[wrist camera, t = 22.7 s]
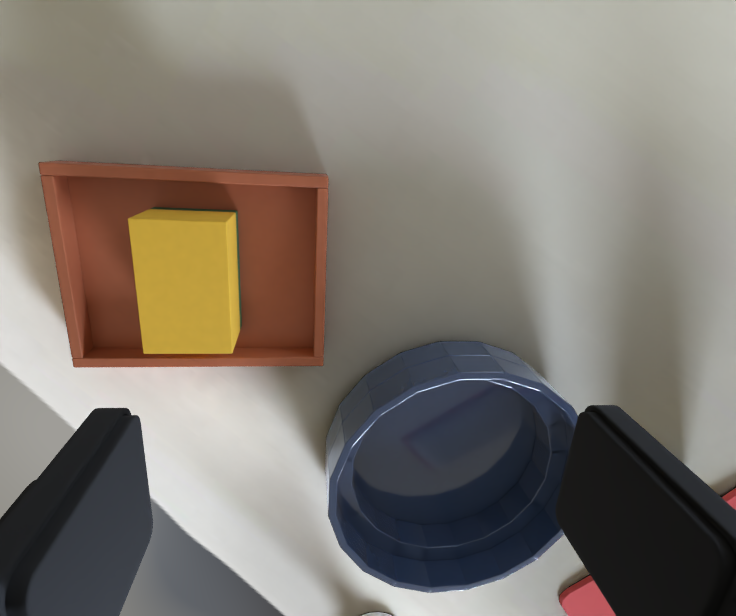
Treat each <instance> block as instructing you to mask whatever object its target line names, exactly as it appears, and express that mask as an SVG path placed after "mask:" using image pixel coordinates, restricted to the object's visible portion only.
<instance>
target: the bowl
mask: <svg viewBox="0 0 736 616" xmlns="http://www.w3.org/2000/svg"><path fill="white" fill-rule="evenodd" d="M577 419H578V415H577V414H576V412H575V410H574V408H573V407H572V406H571V405H570V404H569V403H568V402H567V401H566V400H565V399H564V398H563V397H562V396H561V395H560V394H559V393H558V392H557V391H556V390H555V389H554V388H553V387H552V386H551V385H550V384H549V383H548V382H547V381H546V380H545V379H544V378H543V377H542V376H541V375H540V374H539V373H538V372H537V371H536V370H535V369H533V368H532V367H531V366H530V365H528V364H527V363H526V362H525V361H523V360H522V359H521V358H519V357H518V356H517V355H516V354H514V353H513V352H510V351H507V350H504V349H501V348H497V347H494V346H491V345H488V344H485V343H482V342H478V341H440V342H435V343H432V344H428V345H425V346H421V347H418V348H415V349H411V350H408V351H404V352H401V353H400V354H397V355H396V356H394V357H393V358H391V359H389V360H388V361H386V362H385V363H383V364H382V365H380V366H378V367H377V368H375V369H374V370H372V371H371V372H369V373H367V374H366V375H365V376H364V377H363V378H362V379H361V380H360V381H359V383H358V384H357V385H356V386H355V387H354V388H353V390H352V391H351V392H350V393H349V394H348V395H347V397H346V398H345V399H344V400H343V401H342V402H341V403H340V405H339V408H338V410H337V412H336V415H335V417H334V420H333V422H332V425H331V427H330V429H329V432H328V434H327V438H326V465H325V471H326V488H327V505H328V517H329V519H330V522H331V525H332V527H333V530H334V532H335V535H336V538H337V540H338V543H339V545H340V547H341V548H342V549H343V551H344V552H345V553H346V554H347V555H348V556H349V557H350V558H351V559H352V560H353V561H354V562H355V563H356V564H357V565H358V566H359V567H360V568H361V569H362V571H364V572H366V573H368V574H370V575H372V576H374V577H376V578H378V579H380V580H382V581H384V582H386V583H388V584H390V585H392V586H394V587H399V588H405V589H410V590H416V591H422V592H427V593H429V592H430V593H434V592H447V591H461V590H469V589H472V588H475V587H478V586H481V585H485V584H488V583H491V582H494V581H498V580H501V579H503V578H506V577H507V576H509V575H511V574H513V573H514V572H516V571H518V570H520V569H521V568H523V567H525V566H526V565H528V564H530V563H532V562H533V561H535V560H537V559H538V558H539V557H540V556H541V555H542V554H543V553H544V552H545V551H547V550H548V549H549V548H550V547H551V546H552V545H553V544H554V543H555V542H556V541H557V540H558V539H559V538H560V537H562V536H563V535H564V532H563V531H562V529H561V527H560V526H559V524H558V522H557V518H556V512H555V508H556V503H557V499H558V495H559V491H560V487H561V483H562V479H563V475H564V471H565V467H566V463H567V459H568V455H569V451H570V447H571V443H572V439H573V435H574V431H575V427H576V423H577Z"/></svg>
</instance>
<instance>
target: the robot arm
mask: <svg viewBox="0 0 736 616" xmlns="http://www.w3.org/2000/svg"><path fill="white" fill-rule="evenodd" d="M555 512H556V518H557V522H558V524H559V526H560V527H561V529H562V531H563V532H564V534H565V535H566V537H567V539H568V540H569V542H570V543H571V545H572V546H573V548H574V550H575V551H576V553H577V554H578V556H579V558H580V559H581V561H582V562H583V564H584V566H585V567H586V569H587V570H588V572H589V573H590V575H591V577H592V578H593V580H594V581H595V583H596V585H597V586H598V588H599V589H600V591H601V593H602V594H603V596H604V597H605V599H606V601H607V602H608V604H609V605H610V607H611V608H612V610H613V612H614V613H615V615H616V616H736V510H735V509H734V508H733V507H731V506H730V505H729V504H728V503H727V502H726V501H725V500H724V499H722V498H721V497H720V496H719V495H718V494H717V493H716V492H715V491H713V490H712V489H711V488H710V487H709V486H708V485H707V484H706V483H704V482H703V481H702V480H701V479H700V478H699V477H698V476H697V475H695V474H694V473H693V472H692V471H691V470H690V469H689V468H688V467H686V466H685V465H684V464H683V463H682V462H681V461H680V460H678V459H677V458H676V457H675V456H674V455H673V454H672V453H671V452H669V451H668V450H667V449H666V448H665V447H664V446H663V445H662V444H660V443H659V442H658V441H657V440H656V439H655V438H654V437H653V436H651V435H650V434H649V433H648V432H647V431H646V430H645V429H644V428H642V427H641V426H640V425H639V424H638V423H637V422H636V421H635V420H633V419H632V418H631V417H630V416H629V415H628V414H627V413H626V412H624V411H623V410H622V409H621V408H620V407H618V406H615V405H591V406H588V407H587V408H586V409H585V411H584V412H582V413H580V414H579V416H578V419H577V423H576V427H575V431H574V435H573V439H572V443H571V447H570V451H569V455H568V459H567V463H566V467H565V471H564V475H563V479H562V483H561V487H560V491H559V495H558V499H557V503H556V508H555ZM152 528H153V519H152V511H151V502H150V494H149V486H148V478H147V470H146V462H145V454H144V446H143V438H142V430H141V422H140V418H139V416H137V415H131V413H130V411H129V409H127V408H97V409H94V410H93V411H92V412H91V413H90V415H89V416H88V417H87V418H86V420H85V421H84V422H83V423H82V424H81V426H80V427H79V428H78V429H77V431H76V432H75V433H74V434H73V436H72V437H71V438H70V439H69V441H68V442H67V443H66V444H65V445H64V447H63V448H62V449H61V450H60V452H59V453H58V454H57V455H56V457H55V458H54V459H53V460H52V461H51V463H50V464H49V465H48V466H47V468H46V469H45V470H44V471H43V472H42V474H41V475H40V476H39V477H38V479H37V480H35V481H33V482H32V483H31V484H29V486H27V487H26V488H25V490H24V491H23V492H22V493H21V494H20V496H19V497H18V498H17V499H16V501H15V502H14V503H13V504H12V505H11V507H10V508H9V509H8V510H7V511H6V513H5V514H4V515H3V516H2V517H1V519H0V616H119V615H120V612H121V609H122V607H123V604H124V602H125V600H126V597H127V595H128V592H129V590H130V588H131V585H132V583H133V580H134V578H135V575H136V573H137V571H138V568H139V566H140V563H141V561H142V558H143V556H144V554H145V551H146V549H147V546H148V544H149V541H150V538H151V534H152Z"/></svg>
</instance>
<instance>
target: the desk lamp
mask: <svg viewBox="0 0 736 616" xmlns="http://www.w3.org/2000/svg"><path fill="white" fill-rule="evenodd" d="M722 499H724V500H725V501H726V502H727V503H728V504H729V505H730V506H731V507H733V508H734V509H735V510H736V488H735V489H733V490H732V491H730V492H729V493H727V494H726V495H724V496H723V497H722ZM559 602H560V604H561V605H562V607H563V609H564V610H565V611H566V613H567V614H568V615H569V616H616V615H615V613H614V612H613V610H612V608H611V607H610V605H609V604H608V602H607V601H606V599H605V597H604V596H603V594H602V593H601V591H600V589H599V588H598V586H597V585H596V583H595V581H594V580H593V578H592V577H591V575H590V576H588V577H586V578H584V579H583V580H581V581H579V582H577V583H576V584H574V585H572V586H570V587H568V588H567V589H566V590H565V591H564V592H562V593H561V594H560V597H559Z"/></svg>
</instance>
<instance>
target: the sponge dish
mask: <svg viewBox="0 0 736 616" xmlns="http://www.w3.org/2000/svg"><path fill="white" fill-rule="evenodd" d="M39 170H40V174H41V181H42V187H43V193H44V199H45V204H46V210H47V216H48V222H49V227H50V233H51V239H52V245H53V251H54V256H55V262H56V268H57V274H58V280H59V285H60V291H61V297H62V303H63V308H64V314H65V320H66V326H67V332H68V337H69V343H70V349H71V355H72V361H73V366H74V367H220V366H323V359H324V358H323V356H324V323H325V286H326V250H327V214H328V176H327V174H313V173H293V172H273V171H253V170H234V169H214V168H194V167H175V166H155V165H135V164H116V163H96V162H76V161H49V162H39ZM153 207H167V208H193V209H218V210H237V211H238V231H239V258H240V286H241V313H242V327H241V329H240V332H239V335H238V338H237V341H236V344H235V347H234V350H233V353H231V354H144V353H143V347H142V338H141V329H140V321H139V312H138V303H137V295H136V286H135V277H134V269H133V260H132V251H131V243H130V234H129V226H128V218H130V217H133V216H135V215H137V214H139V213H142V212H144V211H146V210H148V209H151V208H153Z"/></svg>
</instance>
